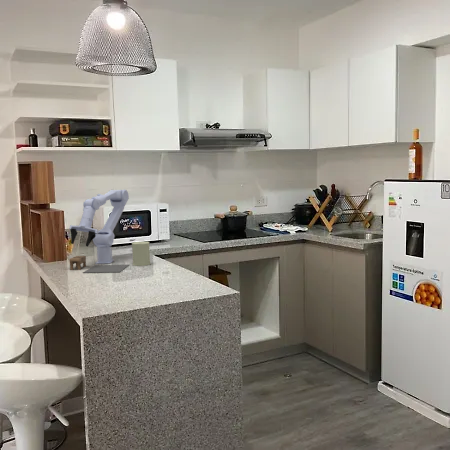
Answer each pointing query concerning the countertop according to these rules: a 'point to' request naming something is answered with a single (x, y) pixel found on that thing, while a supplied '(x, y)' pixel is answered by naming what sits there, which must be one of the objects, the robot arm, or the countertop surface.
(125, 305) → the countertop surface
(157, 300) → the countertop surface
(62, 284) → the countertop surface
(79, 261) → the stool
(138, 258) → the can
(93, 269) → the mat
